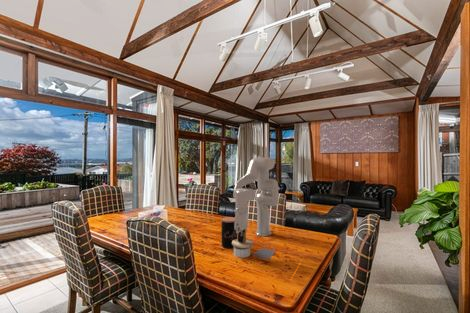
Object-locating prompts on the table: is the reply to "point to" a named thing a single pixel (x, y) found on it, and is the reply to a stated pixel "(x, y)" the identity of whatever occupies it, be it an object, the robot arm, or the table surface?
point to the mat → (264, 253)
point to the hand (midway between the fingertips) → (241, 240)
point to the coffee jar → (228, 232)
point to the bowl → (241, 252)
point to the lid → (244, 244)
